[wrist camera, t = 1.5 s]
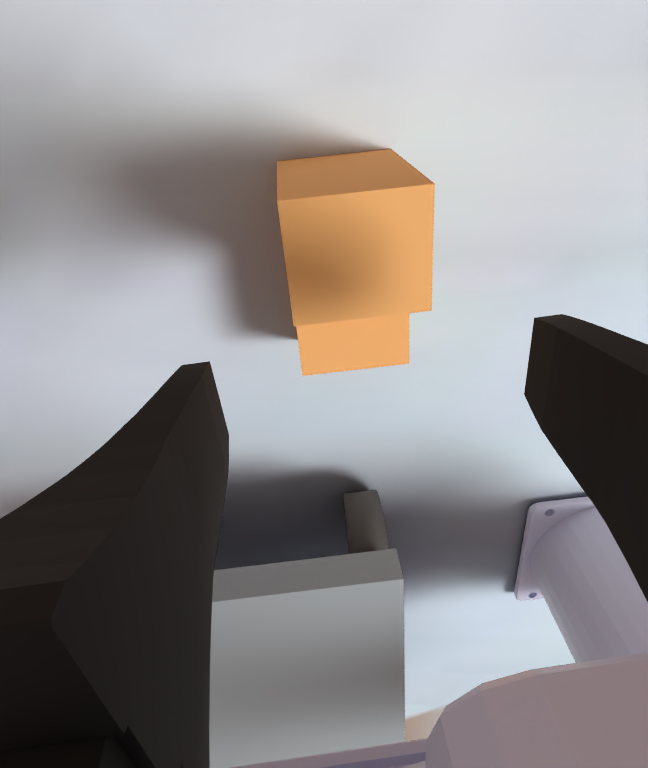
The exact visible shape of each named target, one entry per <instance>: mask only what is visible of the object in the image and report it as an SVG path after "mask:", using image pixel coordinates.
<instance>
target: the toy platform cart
mask: <svg viewBox="0 0 648 768" xmlns="http://www.w3.org/2000/svg"><path fill="white" fill-rule="evenodd" d="M343 500H344V512H345V521H346V530H347V539H348V547H349V554H345V555H337V556H329V557H321V558H312V559H304V560H296V561H287V562H279V563H271V564H262V565H254V566H246V567H237V568H229V569H221V570H214V576H213V595H212V617H211V651H210V714H209V748H210V768H230V767H236V766H243V765H250V764H257V763H263V762H270V761H277V760H284V759H291V758H297V757H304V756H311V755H318V754H324V753H331V752H338V751H345V750H351V749H358V748H365V747H372V746H379V745H385V744H392V743H399V742H405V684H404V578H403V574H402V570H401V566H400V562H399V558H398V554H397V549H396V548H395V549H389V546H388V539H387V532H386V526H385V521H384V515H383V511H382V506H381V502H380V498H379V495H378V492H377V490H370V491H362V492H353V493H345V494H343Z"/></svg>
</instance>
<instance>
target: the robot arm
mask: <svg viewBox="0 0 648 768" xmlns="http://www.w3.org/2000/svg"><path fill="white" fill-rule="evenodd" d="M524 395H525V397H526V399H527V401H528V403H529V406H530V408H531V410H532V412H533V414H534V416H535V418H536V420H537V422H538V424H539V426H540V428H541V430H542V431H543V433H544V434H545V436H546V437H547V439H548V440H549V442H550V443H551V444H552V446H553V447H554V449H555V450H556V452H557V453H558V455H559V456H560V457H561V459H562V460H563V462H564V463H565V465H566V466H567V467H568V469H569V470H570V472H571V473H572V474H573V476H574V477H575V479H576V480H577V482H578V483H579V484H580V486H581V487H582V489H583V490H584V491H585V493H586V494H587V496H588V497H579V498H571V499H563V500H554V501H546V502H538V503H534V504H533V505H531V506H530V507H529V509H528V514H527V520H526V526H525V531H524V537H523V543H522V549H521V555H520V561H519V566H518V572H517V578H516V584H515V590H514V594H515V597H516V599H517V600H520V601H526V600H535V599H543V598H544V599H545V601H546V603H547V605H548V607H549V609H550V611H551V613H552V615H553V617H554V619H555V621H556V623H557V625H558V627H559V629H560V631H561V633H562V635H563V637H564V639H565V642H566V644H567V646H568V648H569V650H570V652H571V654H572V656H573V658H574V660H575V662H576V663H573V664H566V665H559V666H552V667H545V668H539V669H532V670H528V671H525V672H521V673H518V674H514V675H510V676H507V677H503V678H500V679H496V680H493V681H489V682H486V683H482V684H480V685H479V686H477V687H476V688H474V689H473V690H471V691H469V692H468V693H466V694H465V695H463V696H461V697H460V698H458V699H457V700H455V701H453V702H452V703H450V704H449V705H447V706H446V707H445V709H444V710H443V712H442V714H441V715H440V717H439V719H438V721H437V723H436V724H435V727H434V728H433V730H432V732H431V734H430V736H429V737H428V738H426V739H419V740H412V741H406V742H399V743H392V744H385V745H379V746H372V747H365V748H358V749H351V750H345V751H338V752H331V753H324V754H318V755H311V756H304V757H297V758H291V759H284V760H277V761H270V762H263V763H257V764H250V765H243V766H236V767H230V768H648V344H645V343H642V342H640V341H637V340H634V339H632V338H629V337H626V336H624V335H621V334H618V333H616V332H613V331H611V330H608V329H605V328H603V327H600V326H597V325H595V324H592V323H589V322H586V321H583V320H580V319H577V318H574V317H571V316H567V315H562V314H560V315H553V316H545V317H538V318H534V324H533V332H532V340H531V347H530V355H529V362H528V370H527V378H526V385H525V393H524ZM228 468H229V433H228V430H227V426H226V422H225V418H224V414H223V411H222V407H221V403H220V399H219V395H218V391H217V388H216V384H215V380H214V376H213V372H212V368H211V365H210V362H203V363H195V364H188V365H182V366H181V367H180V368H179V369H178V370H177V371H176V372H175V373H174V374H173V375H172V376H171V377H170V378H169V379H168V380H167V381H166V382H165V384H164V385H163V386H162V387H161V388H160V389H159V390H158V391H157V392H156V393H155V395H154V396H153V397H152V398H151V399H150V400H149V401H148V402H147V403H146V404H145V405H144V406H143V407H142V408H141V409H140V410H139V412H138V413H137V414H136V415H135V416H134V417H133V418H132V419H131V420H129V421H128V422H127V423H126V424H125V425H124V426H123V427H122V428H121V429H120V430H119V431H118V432H117V433H116V434H115V435H114V436H113V437H112V438H111V439H110V440H109V441H107V442H106V443H105V444H104V445H103V446H102V447H101V448H100V449H98V450H97V451H96V452H95V453H94V454H93V455H91V456H90V457H89V458H88V459H86V460H85V461H84V462H83V463H81V464H80V465H79V466H78V467H76V468H75V469H74V470H72V471H71V472H70V473H69V474H67V475H66V476H65V477H63V478H62V479H60V480H59V481H58V482H56V483H55V484H53V485H52V486H50V487H49V488H47V489H46V490H44V491H43V492H41V493H40V494H38V495H37V496H35V497H34V498H32V499H31V500H29V501H28V502H26V503H25V504H23V505H22V506H20V507H19V508H17V509H16V510H14V511H13V512H11V513H9V514H8V515H6V516H4V517H3V518H1V519H0V768H210V748H209V714H210V651H211V617H212V595H213V576H214V567H215V558H216V551H217V545H218V538H219V532H220V526H221V519H222V513H223V506H224V500H225V493H226V486H227V479H228Z"/></svg>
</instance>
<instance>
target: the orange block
mask: <svg viewBox="0 0 648 768" xmlns="http://www.w3.org/2000/svg"><path fill="white" fill-rule="evenodd" d="M434 185H435V184H434V183H433V182H432V181H430V180H429V179H428V178H427V177H425V176H424V175H423V174H422V173H421V172H419V171H418V170H417V169H416V168H414V167H413V166H412V165H411V164H409V163H408V162H407V161H406V160H404V159H403V158H402V157H401V156H399V155H398V154H397V153H396V152H394V151H393V150H392V149H386V150H376V151H367V152H358V153H349V154H339V155H330V156H321V157H312V158H302V159H293V160H284V161H277V204H278V212H279V219H280V227H281V234H282V242H283V250H284V257H285V265H286V272H287V280H288V287H289V295H290V302H291V310H292V318H293V325H294V326H296V329H297V336H298V344H299V352H300V360H301V367H302V375H303V376H305V375H314V374H322V373H331V372H340V371H348V370H357V369H366V368H374V367H383V366H391V365H400V364H409V313H414V312H423V311H431V309H432V268H433V226H434Z"/></svg>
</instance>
